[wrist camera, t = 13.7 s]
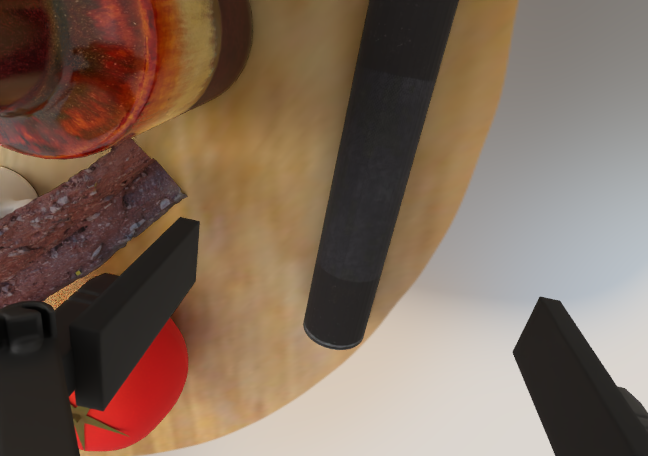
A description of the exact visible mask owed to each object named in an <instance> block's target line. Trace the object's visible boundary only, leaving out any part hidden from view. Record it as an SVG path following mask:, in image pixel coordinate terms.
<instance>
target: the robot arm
mask: <svg viewBox="0 0 648 456" xmlns="http://www.w3.org/2000/svg"><path fill="white" fill-rule="evenodd" d="M199 225H200V221H195V220H191V219H186V218H182V217H180V218H179V219H178V220H177V221H176V222H175V223H174V224H173V225H172V226H171V227H170V228H168V229H167V230H166V231H165V232H164V233H163V234H162V235H161V236H160V237H159V238H158V239H157V240H156V241H155V242H154V243H153V244H152V245H151V246H150V247H149V248H148V249H147V250H146V251H145V252H144V253H143V254H142V255H141V256H140V257H139V258H138V259H137V260H136V261H135V262H134V263H132V264H131V265H130V266H129V267H128V268H127V269H126V270H125V271H124V272H123V273H122V274H121V275H120V276H117V275H112V274H108V273H104V274H101V275H99V276H97V277H95V278H93V279H90V280H89V281H87V282H86V283H85V284H84V285H83V286H82V287H81V288H80V289H78V292H75V293H74V294H73V295H72V296H70V297H69V300H66V301H65V302H64V303H63V304H61V305H60V306H59V307H58V308H57V309H56V310H55V311H54V309H53V307H52V306H51V305H49V304H47V303H45V302H39V301H21V302H18V303H14V304H10V305H8V306H6V307H3V308H1V309H0V456H80V453H79V448H78V442H77V437H76V432H75V427H74V421H73V416H72V411H71V405H70V400H69V396H70V395H71V394H72V393H73V392H74V390H75V400H76V405H77V406H81V407H86V408H90V409H94V410H99V411H104V410H105V408H106V407H107V406H108V404H109V403H110V401H111V400H112V399H113V397H114V396H115V394H116V393H117V392H118V390H119V389H120V387H121V386H122V385H123V383H124V382H125V380H126V379H127V377H128V376H129V375H130V373H131V372H132V370H133V369H134V368H135V366H136V365H137V363H138V362H139V361H140V359H141V358H142V356H143V355H144V353H145V352H146V351H147V349H148V348H149V346H150V345H151V344H152V342H153V341H154V339H155V338H156V337H157V335H158V334H159V332H160V331H161V330H162V328H163V327H164V325H165V324H166V322H167V321H168V320H169V318H170V317H171V315H172V314H173V313H174V311H175V310H176V308H177V307H178V306H179V304H180V303H181V301H182V300H183V298H184V297H185V296H186V294H187V293H188V291H189V290H190V289H191V287H192V286H193V284H194V283H195V282H196V267H197V253H198V239H199ZM513 355H514V357H515V360H516V362H517V364H518V367H519V369H520V371H521V374H522V376H523V378H524V381H525V384H526V386H527V388H528V391H529V393H530V395H531V398H532V400H533V403H534V405H535V407H536V410H537V413H538V415H539V417H540V420H541V422H542V425H543V427H544V429H545V432H546V434H547V436H548V439H549V441H550V444H551V446H552V449H553V451H554V453H555V456H648V413H647V411H646V410H645V408H644V407H643V406H642V404H641V403H640V402H639V401H638V400H637V399H636V398H635V397H634V396H633V395H632V394H630V393H629V392H628V391H627V390H626V389H625V388H622V387H617V386H616V385H615V383H614V381H613V380H612V378H611V377H610V375H609V374H608V372H607V371H606V369H605V368H604V366H603V365H602V363H601V362H600V360H599V359H598V357H597V356H596V354H595V353H594V351H593V350H592V348H591V347H590V345H589V344H588V342H587V341H586V339H585V338H584V336H583V335H582V333H581V332H580V330H579V329H578V327H577V326H576V324H575V323H574V321H573V320H572V318H571V317H570V315H569V314H568V312H567V311H566V309H565V308H564V306H563V305H562V303H561V302H560V301H558V300H553V299H548V298H544V297H539V299H538V302H537V303H536V305H535V307H534V310H533V312H532V314H531V316H530V318H529V320H528V322H527V324H526V326H525V328H524V330H523V332H522V334H521V336H520V338H519V340H518V342H517V344H516V346H515V348H514V350H513Z"/></svg>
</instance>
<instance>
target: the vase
mask: <svg viewBox="0 0 648 456" xmlns="http://www.w3.org/2000/svg"><path fill="white" fill-rule="evenodd" d="M252 33H253V25H252V13H251V8H250V3H249V0H0V146H2V147H4V148H7V149H10V150H13V151H16V152H19V153H22V154H25V155H29V156H34V157H39V158H44V159H63V160H64V159H73V158H81V157H86V156H89V155H92V154H95V153H99V152H102V151H104V150H106V149H108V148H111V147H113V146H115V145H117V144H119V143H122V142H124V141H126V140H128V139H130V138H132V137H134V136H137V135H139V134H141V133H143V132H145V131H147V130H149V129H151V128H153V127H156V126H158V125H160V124H162V123H164V122H166V121H168V120H170V119H172V118H175V117H177V116H179V115H181V114H183V113H185V112H187V111H189V110H191V109H193V108H195V107H197V106H200V105H202V104H204V103H206V102H208V101H210V100H212V99H213V98H215V97H217V96H219V95H221V94H222V93H223V92H224V91H226V90H227V89H228V88H229V87H230V86H231V85H232V84H233V83H234V82H235V81H236V79H237V78H238V76H239V75H240V73H241V72H242V70H243V68H244V66H245V64H246V61H247V59H248V56H249V52H250V48H251V44H252Z"/></svg>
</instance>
